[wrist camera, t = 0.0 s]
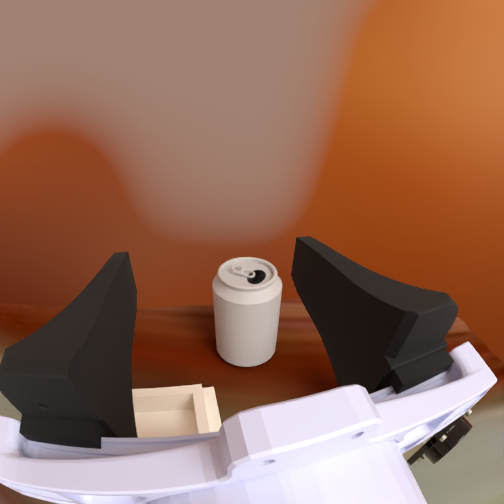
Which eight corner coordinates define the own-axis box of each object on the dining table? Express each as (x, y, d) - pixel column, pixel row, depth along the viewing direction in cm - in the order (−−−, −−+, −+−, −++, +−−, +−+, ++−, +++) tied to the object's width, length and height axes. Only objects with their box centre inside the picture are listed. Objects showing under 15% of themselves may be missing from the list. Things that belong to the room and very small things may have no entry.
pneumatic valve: (369, 398, 29) (405, 321, 23) (428, 466, 19) (494, 402, 14) (330, 418, 27) (362, 342, 21) (390, 496, 17) (459, 443, 12)
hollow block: (231, 470, 22) (230, 455, 20) (91, 474, 18) (73, 459, 17) (214, 391, 30) (211, 370, 28) (96, 398, 27) (84, 377, 25)
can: (265, 378, 32) (273, 296, 27) (207, 361, 34) (198, 280, 29) (281, 336, 39) (290, 259, 33) (229, 324, 41) (227, 248, 35)
